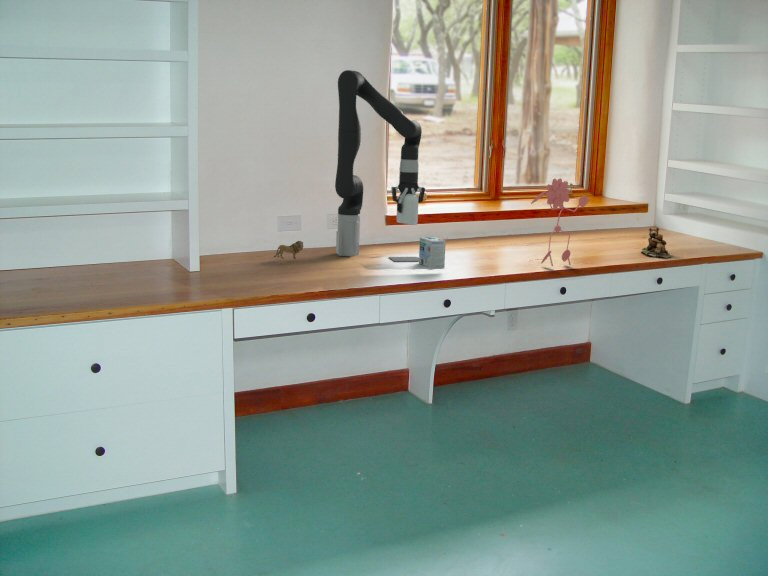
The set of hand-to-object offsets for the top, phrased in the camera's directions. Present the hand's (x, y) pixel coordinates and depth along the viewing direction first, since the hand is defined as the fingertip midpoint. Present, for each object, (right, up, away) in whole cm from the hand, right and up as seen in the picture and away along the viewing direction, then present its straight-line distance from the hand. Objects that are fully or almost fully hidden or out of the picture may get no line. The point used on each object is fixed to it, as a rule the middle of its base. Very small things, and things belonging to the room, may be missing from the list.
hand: (407, 212), depth 365 cm
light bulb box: (+9, -22, -7) cm, 25 cm away
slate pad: (-1, -19, +4) cm, 19 cm away
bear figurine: (+113, -16, +40) cm, 121 cm away
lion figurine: (-48, -19, -2) cm, 52 cm away
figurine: (+60, -20, +8) cm, 64 cm away
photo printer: (0, -5, +1) cm, 5 cm away
